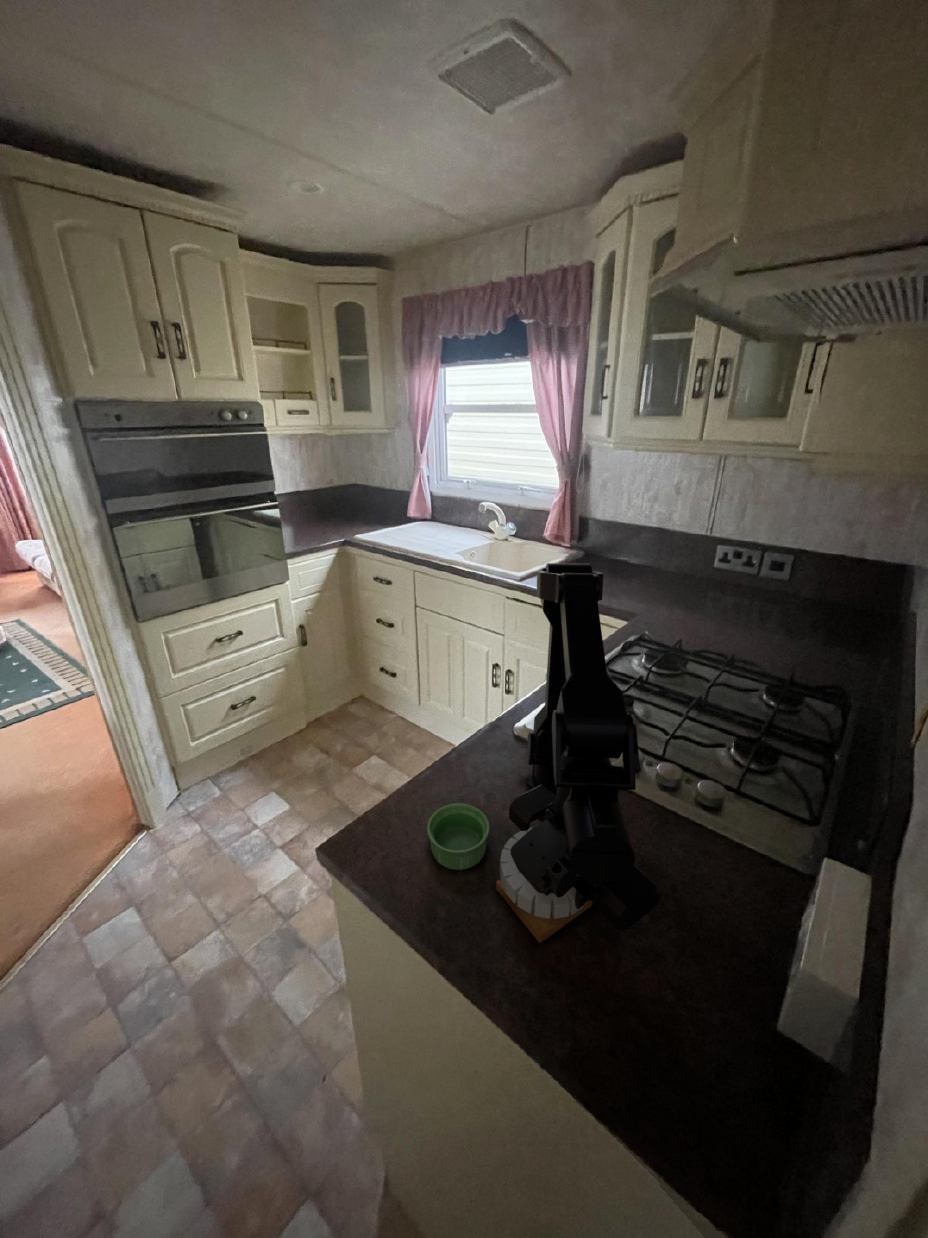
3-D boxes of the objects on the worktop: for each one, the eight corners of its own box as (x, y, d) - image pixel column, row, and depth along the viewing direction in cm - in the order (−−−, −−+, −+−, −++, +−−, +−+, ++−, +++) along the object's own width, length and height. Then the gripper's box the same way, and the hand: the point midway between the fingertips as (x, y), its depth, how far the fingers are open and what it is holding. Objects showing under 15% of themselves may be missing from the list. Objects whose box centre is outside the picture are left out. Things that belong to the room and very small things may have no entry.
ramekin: (422, 831, 79) (421, 810, 77) (478, 819, 81) (478, 797, 79) (435, 881, 71) (434, 858, 69) (497, 865, 73) (498, 843, 71)
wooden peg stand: (495, 889, 70) (497, 843, 66) (545, 858, 74) (549, 814, 71) (539, 943, 63) (543, 896, 59) (591, 905, 67) (598, 859, 64)
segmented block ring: (483, 864, 69) (483, 851, 68) (550, 826, 74) (551, 814, 73) (540, 937, 59) (541, 923, 58) (612, 888, 65) (614, 874, 64)
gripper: (473, 780, 59) (473, 874, 66) (594, 904, 45) (579, 1008, 52) (546, 745, 65) (539, 835, 71) (673, 845, 51) (651, 947, 57)
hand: (571, 897), depth 63 cm, fingers closed on segmented block ring, 2 cm apart
